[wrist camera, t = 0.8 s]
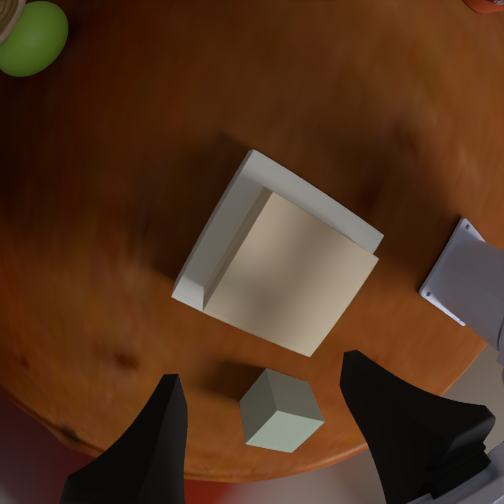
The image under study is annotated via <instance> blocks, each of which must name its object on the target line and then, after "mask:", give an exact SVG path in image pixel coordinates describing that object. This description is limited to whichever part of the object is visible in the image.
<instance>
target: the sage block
mask: <svg viewBox="0 0 504 504" xmlns="http://www.w3.org/2000/svg"><path fill="white" fill-rule="evenodd" d="M239 403H240V410H241V417H242V424H243V431H244V438H245V444H249V445H253V446H258V447H263V448H268V449H273V450H279V451H285V452H291V453H292V452H293V451H294V450H295V449H296V448H297V447H298V446H300V445H301V444H302V443H303V442H304V441H305V440H306V439H307V438H308V437H309V436H310V435H311V434H313V433H314V432H315V431H316V430H317V429H318V428H319V427H320V426H321V425H322V424H323V423H324V422H325V421H324V419H323V417H322V414H321V412H320V409H319V407H318V404H317V402H316V400H315V397H314V395H313V392H312V390H311V388H310V385H309V383H308V382H306V381H303V380H300V379H297V378H294V377H291V376H288V375H285V374H282V373H279V372H276V371H273V370H270V369H267V368H266V369H265V370H264V371H263V373H262V374H261V375H260V376H259V378H258V379H257V380H256V381H255V383H254V384H253V385H252V386H251V388H250V389H249V390H248V391H247V393H246V394H245V395H244V396H243V398H242V399H241V400H240V401H239Z"/></svg>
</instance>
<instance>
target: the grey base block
mask: <svg viewBox="0 0 504 504" xmlns="http://www.w3.org/2000/svg"><path fill="white" fill-rule="evenodd" d="M263 186H265V187H267V188H268V189H270V190H272V191H274V192H275V193H277V194H279V195H280V196H282V197H284V198H285V199H287V200H289V201H290V202H292V203H294V204H295V205H297V206H299V207H300V208H302V209H303V210H305V211H307V212H308V213H310V214H312V215H313V216H315V217H316V218H318V219H320V220H321V221H323V222H324V223H326V224H327V225H329V226H331V227H332V228H334V229H335V230H337V231H338V232H340V233H342V234H343V235H345V236H346V237H348V238H349V239H351V240H352V241H354V242H355V243H357V244H358V245H360V246H361V247H363V248H364V249H366V250H367V251H369V252H370V253H371V254H373V253H374V251H375V250H376V248H377V246H378V245H379V243H380V242H381V240H382V238H383V237H384V235H383V234H381V233H380V232H379V231H377V230H376V229H375V228H373V227H372V226H370V225H369V224H368V223H366V222H365V221H363V220H362V219H361V218H359V217H358V216H356V215H355V214H354V213H352V212H351V211H349V210H348V209H347V208H345V207H344V206H342V205H341V204H339V203H338V202H336V201H335V200H333V199H332V198H330V197H329V196H327V195H326V194H325V193H323V192H322V191H320V190H318V189H317V188H315V187H314V186H312V185H311V184H309V183H308V182H306V181H305V180H303V179H302V178H300V177H298V176H297V175H295V174H294V173H292V172H291V171H289V170H287V169H286V168H284V167H283V166H281V165H279V164H278V163H276V162H274V161H273V160H271V159H269V158H268V157H266V156H264V155H263V154H261V153H259V152H258V151H256V150H249V151H248V153H247V155H246V156H245V158H244V160H243V161H242V163H241V165H240V166H239V168H238V170H237V171H236V173H235V175H234V177H233V178H232V180H231V182H230V183H229V185H228V187H227V189H226V190H225V192H224V194H223V195H222V197H221V199H220V201H219V202H218V204H217V206H216V208H215V209H214V211H213V213H212V215H211V216H210V218H209V220H208V222H207V224H206V225H205V227H204V229H203V231H202V233H201V234H200V236H199V238H198V240H197V242H196V244H195V245H194V247H193V249H192V251H191V253H190V255H189V256H188V258H187V260H186V262H185V264H184V266H183V268H182V270H181V271H180V273H179V275H178V277H177V279H176V281H175V285H174V288H173V292H172V296H171V297H173V298H175V299H177V300H179V301H181V302H183V303H185V304H187V305H189V306H191V307H193V308H196V309H198V310H200V311H202V310H203V294H204V287H205V285H206V283H207V281H208V280H209V278H210V276H211V274H212V273H213V271H214V269H215V267H216V266H217V264H218V262H219V260H220V259H221V257H222V255H223V253H224V252H225V250H226V248H227V246H228V245H229V243H230V241H231V240H232V238H233V236H234V234H235V233H236V231H237V229H238V227H239V226H240V224H241V222H242V221H243V219H244V217H245V215H246V214H247V212H248V210H249V209H250V207H251V205H252V204H253V202H254V200H255V198H256V197H257V195H258V193H259V192H260V190H261V188H262V187H263Z"/></svg>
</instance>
